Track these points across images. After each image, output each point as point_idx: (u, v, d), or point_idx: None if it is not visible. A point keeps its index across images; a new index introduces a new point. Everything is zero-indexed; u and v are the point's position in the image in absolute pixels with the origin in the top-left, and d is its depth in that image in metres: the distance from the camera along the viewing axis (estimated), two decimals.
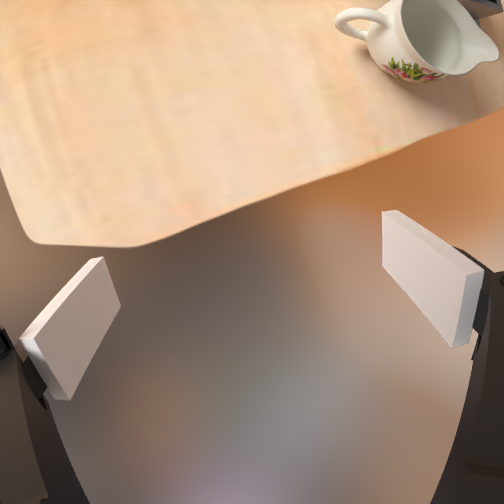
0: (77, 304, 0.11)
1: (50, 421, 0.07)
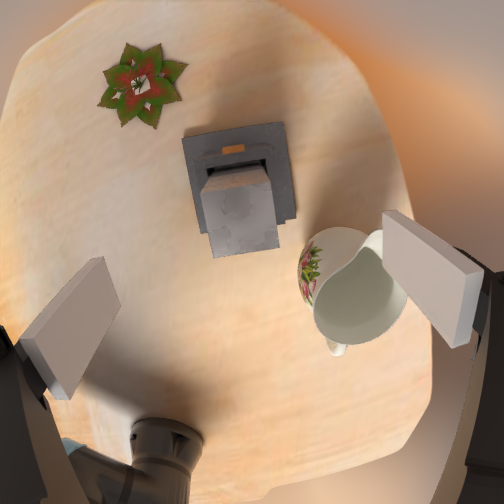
0: (78, 304, 0.11)
1: (50, 421, 0.07)
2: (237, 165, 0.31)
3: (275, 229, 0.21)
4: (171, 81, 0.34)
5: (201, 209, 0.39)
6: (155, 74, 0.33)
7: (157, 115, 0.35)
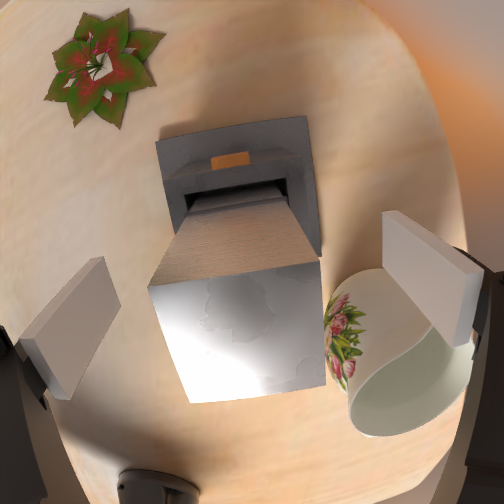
0: (78, 304, 0.11)
1: (50, 421, 0.07)
2: (237, 186, 0.19)
3: (321, 357, 0.09)
4: (141, 59, 0.22)
5: None
6: (119, 50, 0.21)
7: (120, 109, 0.23)
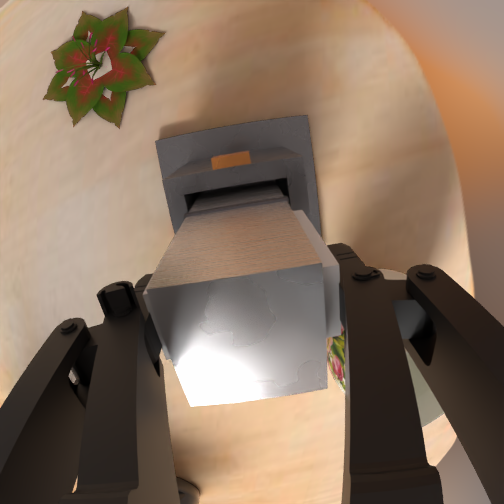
0: None
1: (160, 389, 0.09)
2: (238, 185, 0.19)
3: (323, 360, 0.09)
4: (141, 57, 0.22)
5: None
6: (118, 49, 0.21)
7: (120, 108, 0.23)
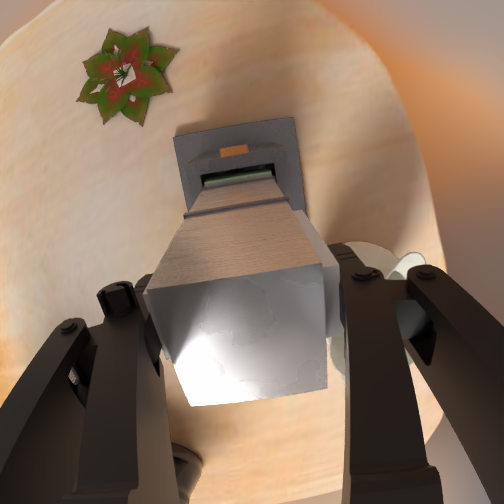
0: None
1: (160, 389, 0.09)
2: (238, 185, 0.19)
3: (323, 360, 0.09)
4: (160, 69, 0.28)
5: None
6: (141, 62, 0.27)
7: (143, 110, 0.29)
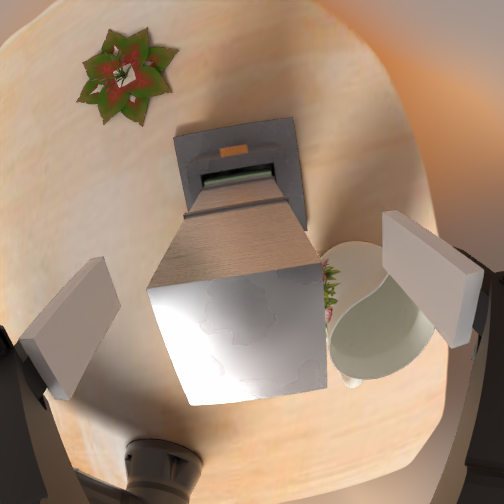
0: (78, 304, 0.11)
1: (50, 421, 0.07)
2: (238, 185, 0.19)
3: (322, 359, 0.09)
4: (159, 70, 0.28)
5: None
6: (141, 62, 0.28)
7: (143, 110, 0.30)
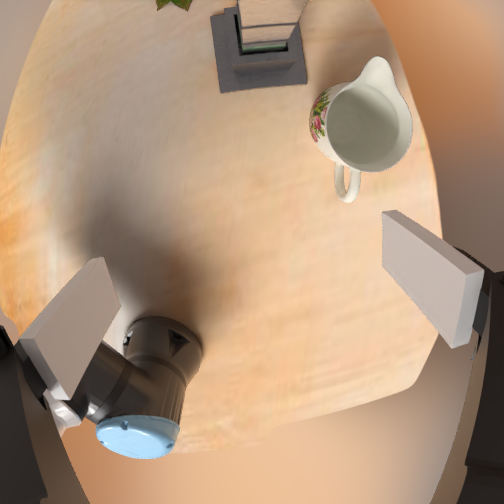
0: (77, 304, 0.11)
1: (50, 421, 0.07)
2: None
3: None
4: None
5: (222, 71, 0.39)
6: None
7: (189, 1, 0.35)
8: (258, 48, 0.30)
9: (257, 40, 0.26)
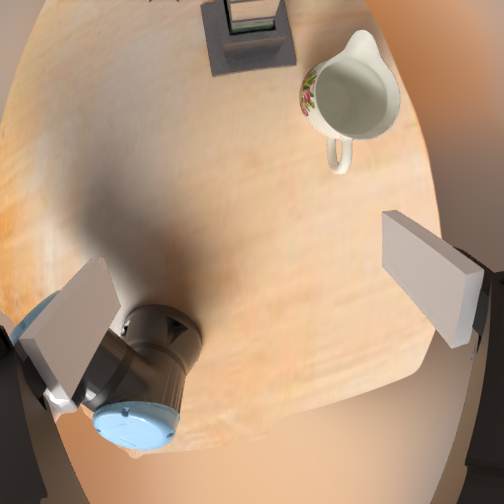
0: (78, 304, 0.11)
1: (50, 421, 0.07)
2: None
3: None
4: None
5: (213, 55, 0.39)
6: None
7: None
8: (247, 27, 0.30)
9: (245, 17, 0.27)
